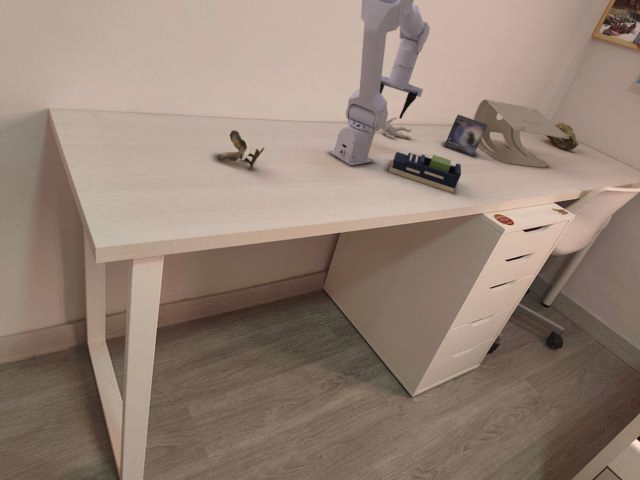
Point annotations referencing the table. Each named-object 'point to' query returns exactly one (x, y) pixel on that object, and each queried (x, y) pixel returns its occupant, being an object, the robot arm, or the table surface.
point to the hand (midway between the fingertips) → (388, 113)
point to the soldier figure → (393, 129)
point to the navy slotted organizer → (425, 171)
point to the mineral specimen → (563, 142)
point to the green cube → (440, 163)
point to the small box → (465, 135)
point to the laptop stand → (513, 131)
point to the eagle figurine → (240, 150)
